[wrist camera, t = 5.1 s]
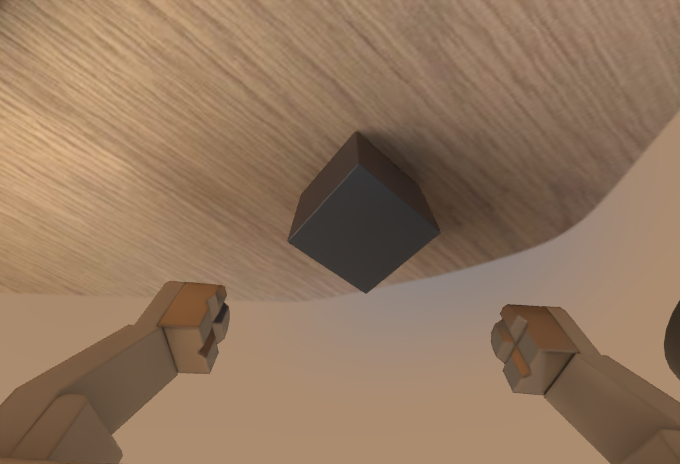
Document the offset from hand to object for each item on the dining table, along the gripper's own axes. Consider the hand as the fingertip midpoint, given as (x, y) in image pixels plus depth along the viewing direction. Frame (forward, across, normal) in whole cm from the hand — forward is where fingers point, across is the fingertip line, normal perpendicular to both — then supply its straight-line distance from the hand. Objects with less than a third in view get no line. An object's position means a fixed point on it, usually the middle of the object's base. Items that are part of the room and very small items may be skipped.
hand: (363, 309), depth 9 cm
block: (+8, 0, 0) cm, 8 cm away
